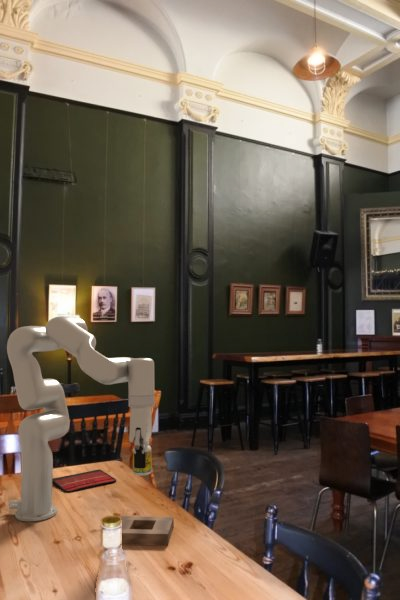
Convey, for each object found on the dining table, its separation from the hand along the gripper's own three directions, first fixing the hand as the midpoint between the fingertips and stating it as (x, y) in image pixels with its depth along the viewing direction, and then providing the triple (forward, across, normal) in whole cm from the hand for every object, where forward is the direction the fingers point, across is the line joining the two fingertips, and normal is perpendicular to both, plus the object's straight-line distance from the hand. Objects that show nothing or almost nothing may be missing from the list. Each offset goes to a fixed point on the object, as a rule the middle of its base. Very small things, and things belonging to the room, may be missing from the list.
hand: (142, 464), depth 137 cm
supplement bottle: (+3, 0, 0) cm, 3 cm away
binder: (+20, -47, -32) cm, 60 cm away
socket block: (+20, 0, 0) cm, 20 cm away
